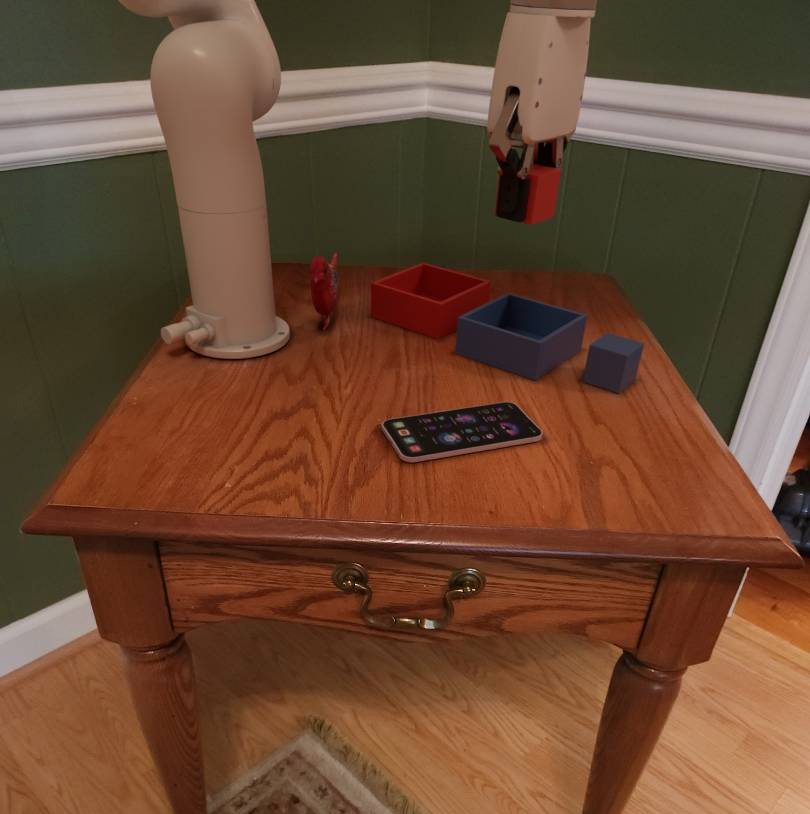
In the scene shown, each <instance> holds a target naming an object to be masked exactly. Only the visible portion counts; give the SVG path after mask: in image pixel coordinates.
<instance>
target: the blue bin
mask: <svg viewBox="0 0 810 814" xmlns="http://www.w3.org/2000/svg"><path fill="white" fill-rule="evenodd" d="M588 317H589V316H588V314H585V313H583V312H578V311H575V310H572V309H568V308H565V307H561V306H558V305H554V304H550V303H547V302H543V301H540V300H536V299H533V298H529V297H526V296H521V295H518V294H514V293H511V292H506V293H504V294H502V295H500V296H498V297H496V298H494V299H491V300H489V302H488V303H486V304H484V305H482V306H480V307H478V308H476V309H474V310H472V311H470V312H468V313H466V314H463V315H461V316H460V317H458V322H457V331H456V336H455V350H454V354H456V355H459V356H462V357H465V358H468V359H471V360H473V361H477V362H479V363H483V364H484V365H488V366H491V367H494V368H497V369H500V370H503V371H506V372H509V373H512V374H514V375H518V376H520V377H524V378H526V379H529V380H532V381H534V382H536V381H538V380H539V379H540V378H542V377H543V376H545V375H546V374H548V373H549V372H551V371H552V370H554V369H556V368H557V367H558V366H560V365H561V364H563V363H564V362H566V361H567V360H569V359H570V358H572V357H573V356H575V355H576V354H578V353H579V352H581V351H582V347H583V342H584V336H585V331H586V326H587V321H588Z"/></svg>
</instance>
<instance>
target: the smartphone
mask: <svg viewBox="0 0 810 814" xmlns="http://www.w3.org/2000/svg"><path fill="white" fill-rule="evenodd" d="M381 431H382V432H383V434H384V436H385V437H386V439H387V441H389V443H390V445H391V446H392V448H393V450H394V451H395V453H396V454H397V456H398V457H399V459H400V460H401V461H403V462H406V463H419V462H424V461H430V460H435V459H441V458H447V457H454V456H459V455H460V456H461V455H465V454H470V453H477V452H483V451H488V450H494V449H499V448H505V447H506V448H507V447H511V446H517V445H522V444H524V445H525V444H529V443H536V442H540V441H541V440H542V439H543V433H544V432H543V430H542V428H540V426H538V425H537V424H536V423H535V421H533V419H532V418H530V416H528V414H527V413H526V412H525V411H524V410H523V409H522V408H521V407H520V406H519V405H518V404H517V403H514V402H511V401H499V402H492V403H486V404H481V405H473V406H466V407H459V408H453V409H447V410H441V411H434V412H428V413H419V414H413V415H406V416H400V417H394V418H388V419H385V420H383V421H382V423H381Z"/></svg>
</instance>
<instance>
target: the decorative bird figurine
mask: <svg viewBox="0 0 810 814" xmlns="http://www.w3.org/2000/svg"><path fill="white" fill-rule="evenodd" d="M338 255H339V251H338V250H335V251H334V253H333V256H332V259H331V261H330V263H329V262H328V260H327V259H326V258H325V257H323V256H320V255H316V256H314V257H313V258H312V261H311V263H310V269H309V281H310V282H309V283H310V297H311V303H312V305H313V308H314V310H315V311H316V312H317V313H318V314H319V315H321V316H324V322H323V324H322V326H323V329H322V332H324V331H325V330H326V329H327V328H328V327H329V324H330V320H331V319H330V317H331V314H332V313H333V311H334V310H335V308H336V305H337V301H338V296H339V273H338V270H337V266H338V258H339V257H338Z"/></svg>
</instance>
